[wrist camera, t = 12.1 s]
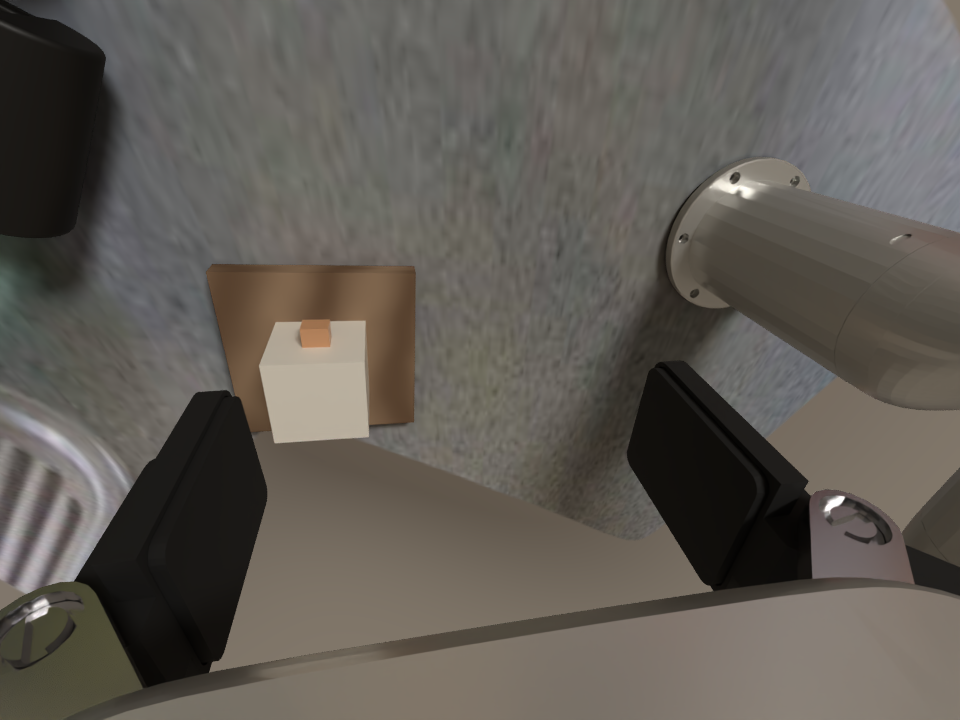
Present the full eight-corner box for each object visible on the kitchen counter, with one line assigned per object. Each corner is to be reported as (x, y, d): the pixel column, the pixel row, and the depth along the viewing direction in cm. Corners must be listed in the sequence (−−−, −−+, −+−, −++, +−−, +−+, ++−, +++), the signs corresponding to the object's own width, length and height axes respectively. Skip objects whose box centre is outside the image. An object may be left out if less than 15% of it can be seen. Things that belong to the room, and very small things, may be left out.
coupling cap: (272, 304, 33) (255, 346, 28) (364, 303, 34) (363, 343, 29) (290, 407, 38) (277, 458, 33) (370, 402, 39) (369, 451, 34)
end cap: (100, 218, 29) (36, 252, 24) (-46, 161, 26) (-158, 185, 21) (133, 57, 26) (66, 53, 20) (-33, -31, 23) (-166, -64, 17)
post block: (414, 266, 35) (421, 299, 30) (412, 411, 42) (418, 458, 37) (212, 264, 32) (182, 300, 27) (248, 421, 39) (229, 472, 34)
